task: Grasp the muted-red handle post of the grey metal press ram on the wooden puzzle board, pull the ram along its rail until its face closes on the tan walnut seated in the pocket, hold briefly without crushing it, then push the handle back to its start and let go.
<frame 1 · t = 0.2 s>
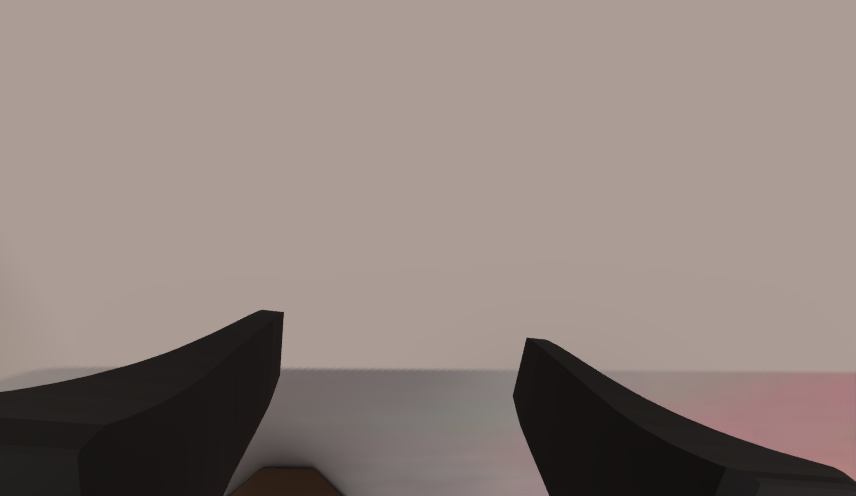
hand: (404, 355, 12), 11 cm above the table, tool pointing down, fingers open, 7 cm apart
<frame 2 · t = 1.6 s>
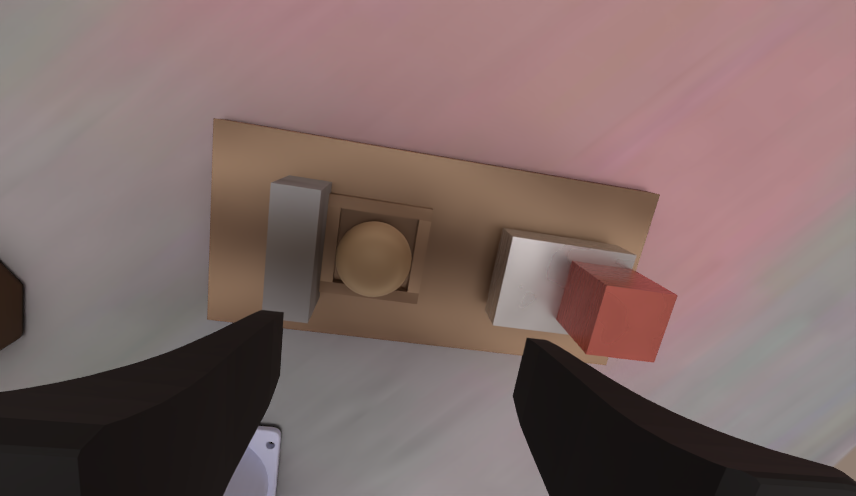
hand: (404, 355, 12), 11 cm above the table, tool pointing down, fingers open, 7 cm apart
walnut: (375, 248, 21), point 1 cm above the table, touching wooden puzzle board
wooden puzzle board: (431, 250, 22), on the table
ram: (570, 296, 18), point 5 cm above the table, slide at 0.0 cm
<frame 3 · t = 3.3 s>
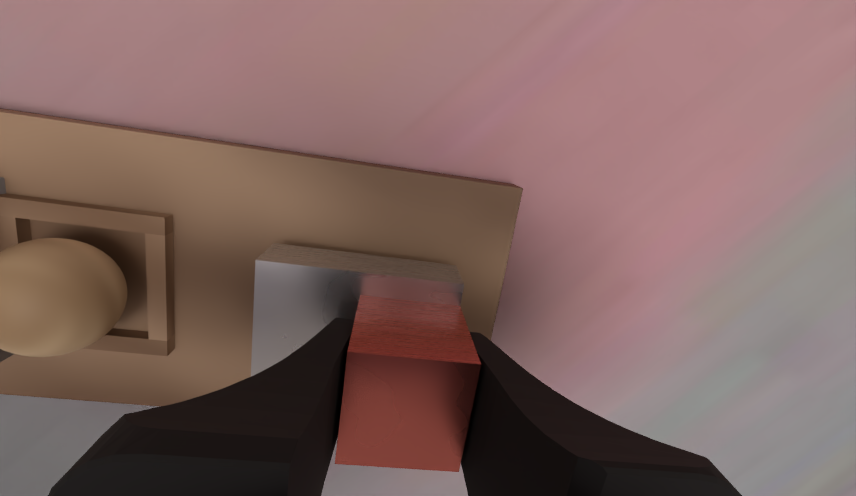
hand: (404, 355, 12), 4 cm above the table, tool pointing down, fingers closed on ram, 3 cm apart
walnut: (96, 276, 14), point 1 cm above the table, touching wooden puzzle board
wooden puzzle board: (204, 274, 15), on the table
ram: (352, 352, 12), point 5 cm above the table, slide at 0.0 cm, touching gripper
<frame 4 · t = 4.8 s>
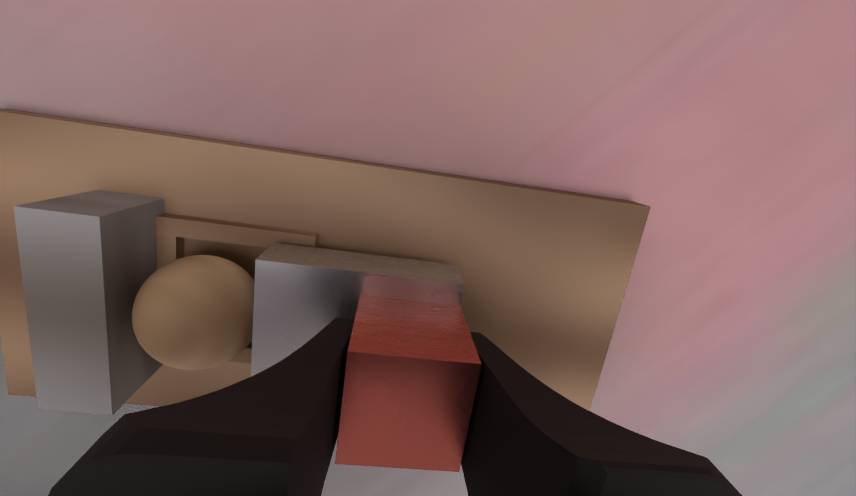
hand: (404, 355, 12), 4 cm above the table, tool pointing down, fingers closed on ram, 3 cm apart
walnut: (239, 292, 14), point 1 cm above the table, tilted 17°, touching wooden puzzle board
wooden puzzle board: (332, 288, 16), on the table
ram: (352, 352, 12), point 4 cm above the table, slide at 4.7 cm, touching gripper
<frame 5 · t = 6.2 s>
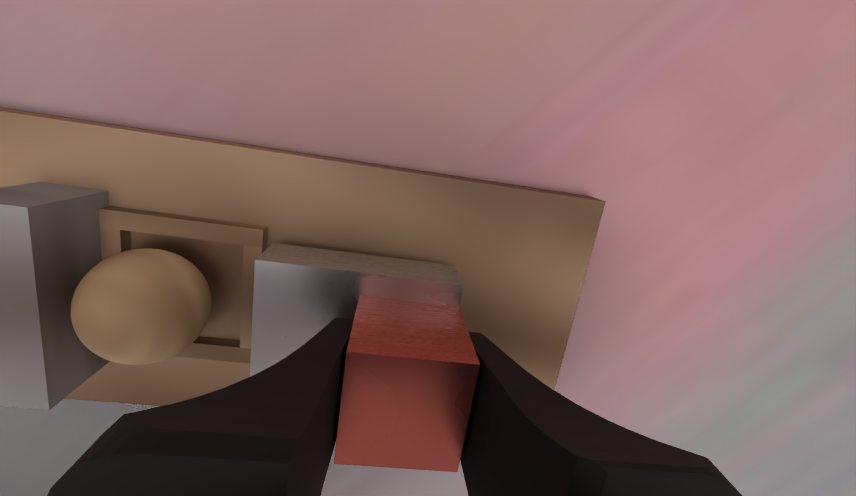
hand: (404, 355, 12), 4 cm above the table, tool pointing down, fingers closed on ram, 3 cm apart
walnut: (188, 286, 14), point 1 cm above the table, tilted 14°, touching wooden puzzle board
wooden puzzle board: (287, 284, 16), on the table
ram: (351, 352, 12), point 4 cm above the table, slide at 3.1 cm, touching gripper
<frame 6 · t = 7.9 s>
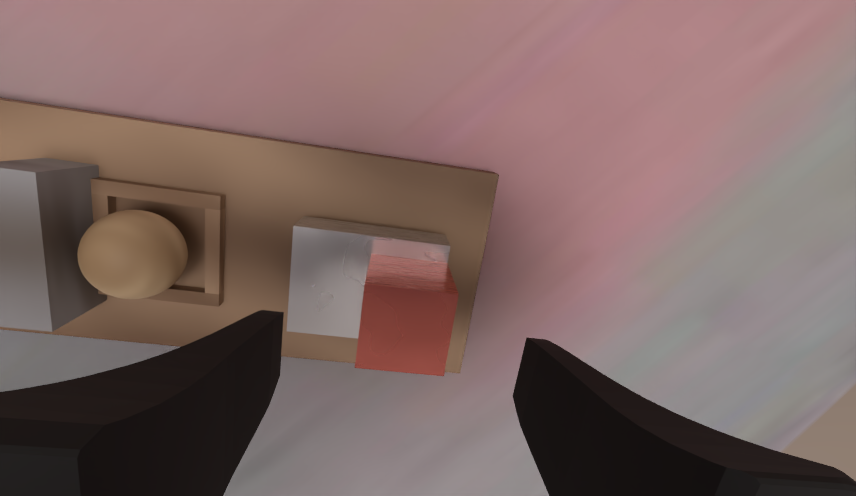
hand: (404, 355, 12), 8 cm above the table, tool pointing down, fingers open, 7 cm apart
walnut: (164, 243, 18), point 1 cm above the table, touching wooden puzzle board
wooden puzzle board: (245, 244, 19), on the table
ram: (365, 296, 15), point 4 cm above the table, slide at 0.0 cm
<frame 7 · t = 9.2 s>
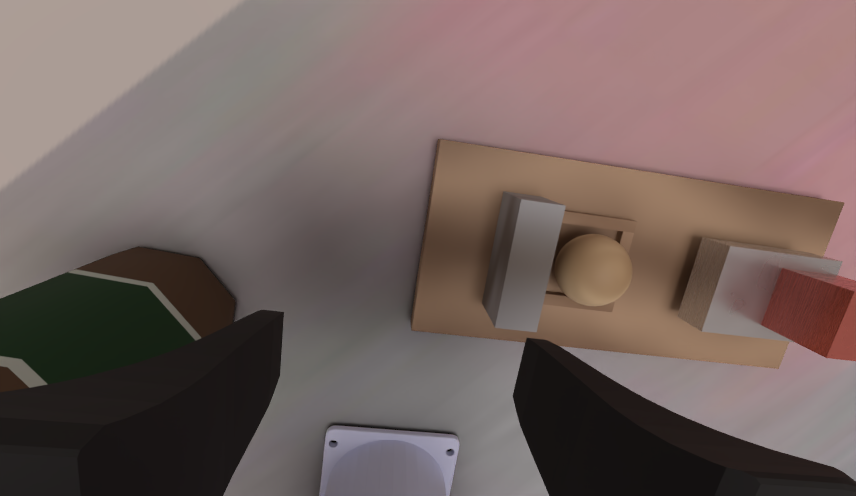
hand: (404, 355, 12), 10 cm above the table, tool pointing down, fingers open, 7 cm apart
beer bottle: (169, 310, 22), on the table
walnut: (574, 259, 21), point 1 cm above the table, touching wooden puzzle board
wooden puzzle board: (616, 260, 23), on the table
ram: (784, 302, 19), point 4 cm above the table, slide at 0.0 cm
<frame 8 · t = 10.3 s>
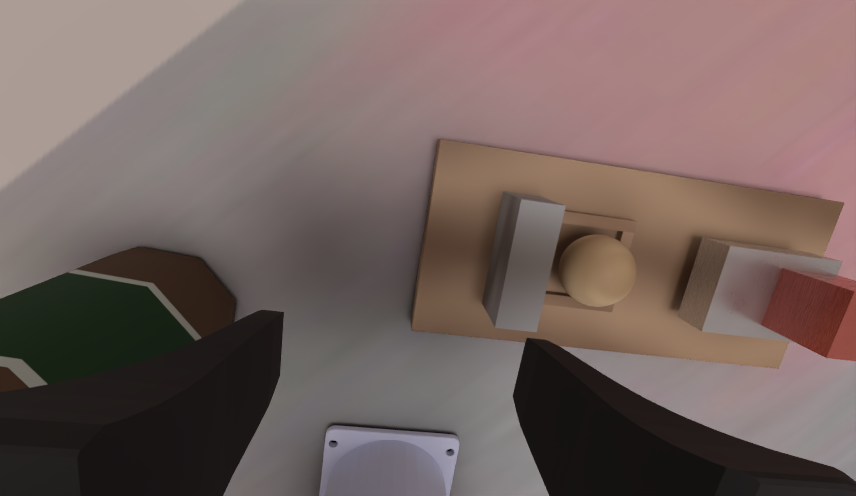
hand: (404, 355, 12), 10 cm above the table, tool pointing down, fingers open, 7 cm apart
beer bottle: (169, 310, 22), on the table
walnut: (575, 259, 21), point 1 cm above the table, tilted 10°, touching wooden puzzle board
wooden puzzle board: (616, 260, 23), on the table
ram: (784, 302, 19), point 5 cm above the table, slide at 0.0 cm
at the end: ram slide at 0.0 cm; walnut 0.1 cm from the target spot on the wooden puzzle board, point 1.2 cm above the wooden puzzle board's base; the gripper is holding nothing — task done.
